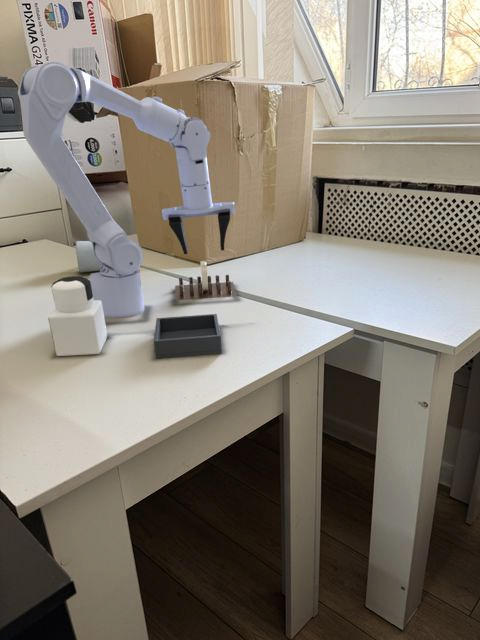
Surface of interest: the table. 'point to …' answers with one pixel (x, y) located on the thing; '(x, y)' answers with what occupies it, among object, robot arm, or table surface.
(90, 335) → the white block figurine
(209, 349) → the dark grey open box
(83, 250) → the ceramic mug
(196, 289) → the dish rack
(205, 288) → the saucer
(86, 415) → the table surface
